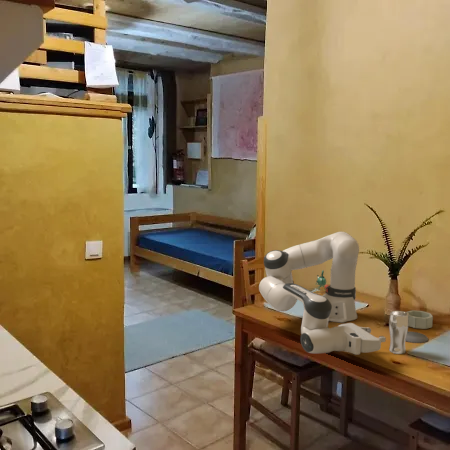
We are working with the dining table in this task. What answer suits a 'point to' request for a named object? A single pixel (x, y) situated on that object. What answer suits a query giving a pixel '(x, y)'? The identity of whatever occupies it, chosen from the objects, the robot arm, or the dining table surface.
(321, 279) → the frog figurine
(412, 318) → the bowl
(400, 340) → the beer glass
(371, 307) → the dining table surface
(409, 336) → the coaster
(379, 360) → the dining table surface
